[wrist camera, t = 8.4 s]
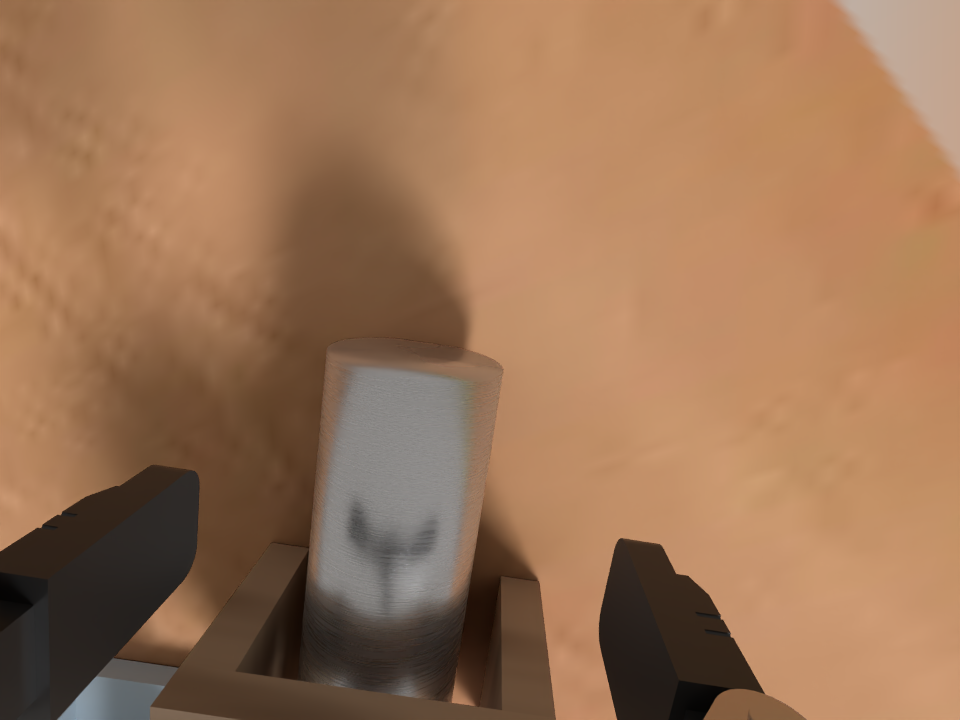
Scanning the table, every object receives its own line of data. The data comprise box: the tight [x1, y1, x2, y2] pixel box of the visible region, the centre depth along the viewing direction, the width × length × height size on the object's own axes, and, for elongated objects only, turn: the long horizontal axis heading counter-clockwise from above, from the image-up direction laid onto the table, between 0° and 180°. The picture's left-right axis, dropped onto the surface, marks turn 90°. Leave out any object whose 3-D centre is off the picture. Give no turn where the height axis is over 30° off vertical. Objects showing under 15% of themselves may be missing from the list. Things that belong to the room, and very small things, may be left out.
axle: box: [297, 338, 503, 703], centre depth 16 cm, size 13×4×4 cm, turn 172°
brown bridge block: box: [150, 543, 556, 720], centre depth 15 cm, size 5×8×6 cm, turn 82°
